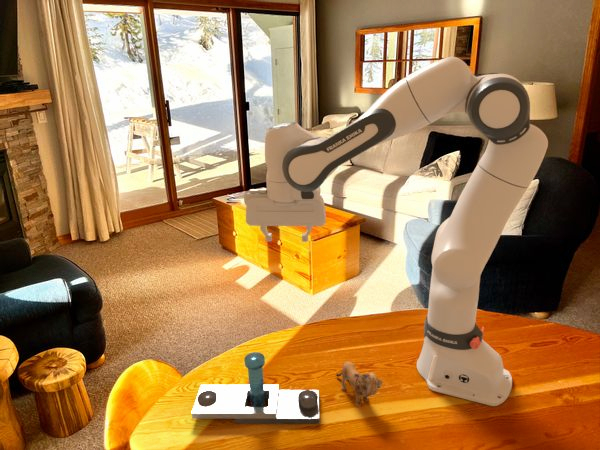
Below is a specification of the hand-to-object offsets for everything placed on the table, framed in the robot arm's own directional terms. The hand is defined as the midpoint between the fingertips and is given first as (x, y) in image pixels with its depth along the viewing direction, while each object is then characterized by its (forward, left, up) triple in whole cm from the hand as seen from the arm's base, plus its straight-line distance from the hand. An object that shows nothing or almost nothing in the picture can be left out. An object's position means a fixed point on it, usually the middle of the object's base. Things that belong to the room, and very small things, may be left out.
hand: (286, 240), depth 119 cm
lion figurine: (-26, +8, -31) cm, 41 cm away
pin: (-9, +25, -31) cm, 41 cm away
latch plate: (-9, +25, -31) cm, 41 cm away
